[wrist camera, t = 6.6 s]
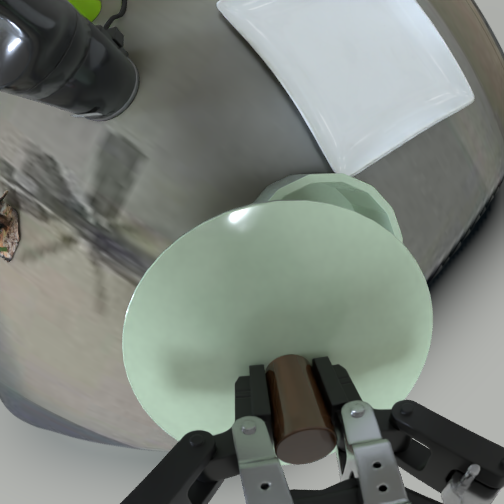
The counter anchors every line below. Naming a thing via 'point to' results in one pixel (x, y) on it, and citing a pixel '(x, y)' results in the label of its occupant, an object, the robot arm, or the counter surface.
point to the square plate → (355, 70)
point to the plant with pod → (8, 229)
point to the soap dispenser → (87, 7)
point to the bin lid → (276, 320)
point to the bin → (335, 196)
